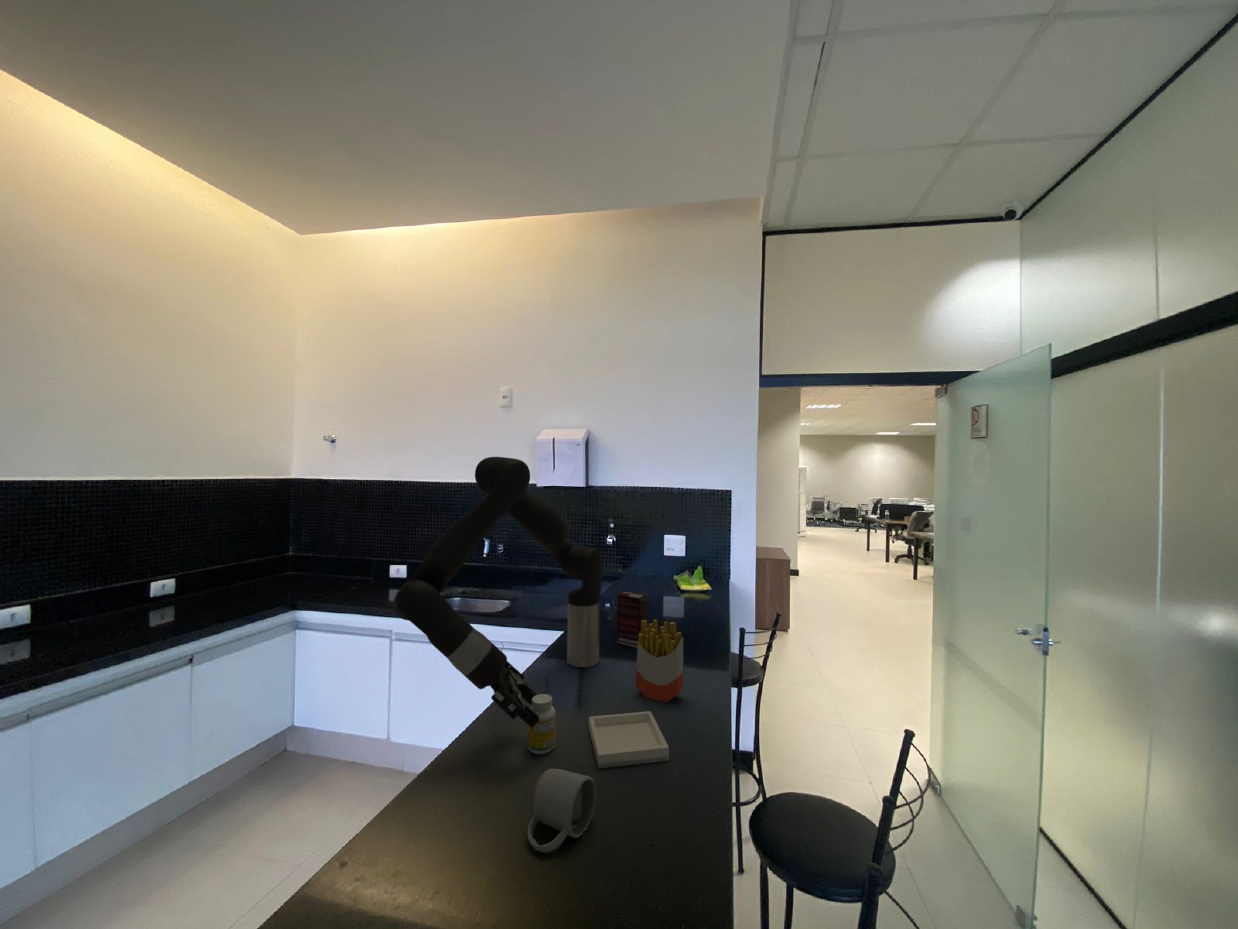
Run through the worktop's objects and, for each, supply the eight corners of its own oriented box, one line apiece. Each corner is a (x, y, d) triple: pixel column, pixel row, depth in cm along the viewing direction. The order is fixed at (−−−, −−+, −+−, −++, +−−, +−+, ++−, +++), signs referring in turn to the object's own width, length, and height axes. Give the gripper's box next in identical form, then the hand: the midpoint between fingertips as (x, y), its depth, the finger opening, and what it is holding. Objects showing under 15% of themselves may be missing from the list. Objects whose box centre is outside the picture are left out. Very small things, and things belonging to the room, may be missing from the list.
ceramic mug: (554, 799, 78) (554, 753, 78) (597, 815, 74) (597, 767, 74) (513, 846, 68) (513, 794, 68) (560, 867, 65) (560, 812, 65)
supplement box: (647, 644, 148) (647, 594, 148) (639, 649, 144) (640, 598, 144) (624, 639, 153) (624, 591, 153) (616, 643, 149) (616, 594, 149)
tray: (589, 728, 99) (589, 717, 99) (650, 722, 102) (650, 711, 102) (598, 768, 86) (598, 755, 86) (668, 760, 88) (668, 747, 89)
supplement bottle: (552, 755, 90) (553, 705, 90) (525, 755, 90) (525, 705, 90) (556, 739, 95) (557, 692, 95) (530, 739, 95) (531, 692, 95)
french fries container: (677, 705, 109) (677, 629, 110) (635, 696, 114) (635, 622, 114) (683, 697, 114) (683, 623, 114) (641, 688, 118) (642, 617, 118)
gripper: (488, 657, 84) (550, 715, 86) (493, 631, 98) (547, 681, 100) (457, 689, 83) (521, 747, 85) (467, 657, 97) (522, 708, 99)
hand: (535, 711), depth 92 cm, fingers open, 8 cm apart
